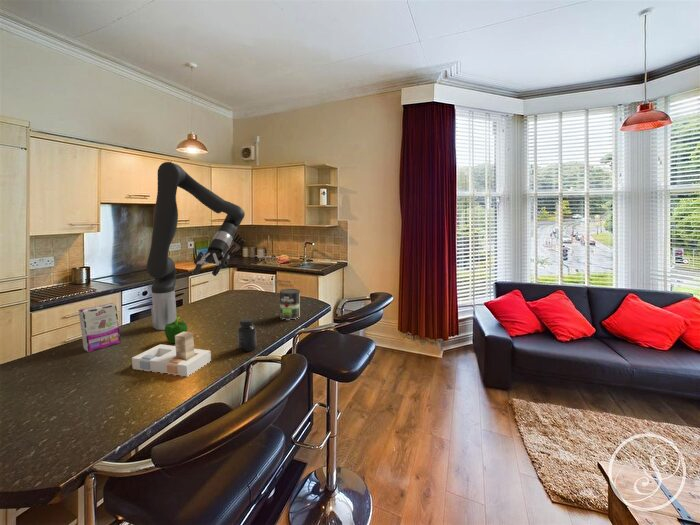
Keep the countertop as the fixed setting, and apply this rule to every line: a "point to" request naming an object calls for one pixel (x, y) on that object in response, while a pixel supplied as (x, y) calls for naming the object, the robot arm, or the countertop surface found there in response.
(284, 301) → the coffee can
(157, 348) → the socket hub
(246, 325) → the supplement bottle
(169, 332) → the bell pepper
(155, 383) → the countertop surface
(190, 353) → the beech plug
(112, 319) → the candy bar box
